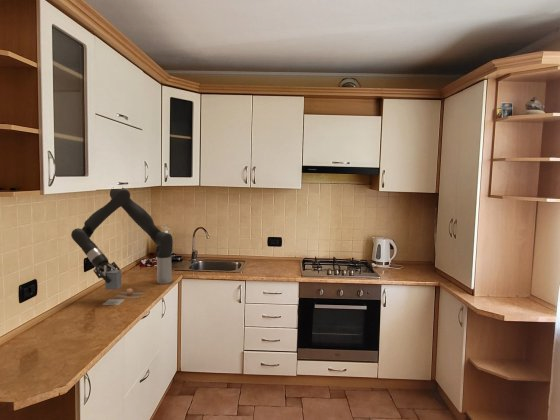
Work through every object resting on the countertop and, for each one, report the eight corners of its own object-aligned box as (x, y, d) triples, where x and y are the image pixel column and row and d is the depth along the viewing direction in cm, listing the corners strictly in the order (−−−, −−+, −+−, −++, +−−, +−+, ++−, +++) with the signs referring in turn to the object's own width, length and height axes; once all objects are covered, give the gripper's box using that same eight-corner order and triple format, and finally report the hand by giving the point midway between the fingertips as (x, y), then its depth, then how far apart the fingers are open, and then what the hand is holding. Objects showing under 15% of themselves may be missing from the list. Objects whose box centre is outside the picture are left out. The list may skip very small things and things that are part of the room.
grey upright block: (110, 285, 211) (109, 269, 210) (121, 285, 211) (121, 270, 210) (105, 289, 205) (104, 273, 204) (117, 289, 205) (116, 273, 204)
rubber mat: (108, 301, 213) (108, 299, 213) (125, 301, 214) (124, 299, 214) (101, 306, 204) (101, 304, 204) (118, 306, 205) (118, 304, 205)
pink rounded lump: (127, 293, 224) (127, 288, 223) (133, 293, 224) (133, 288, 223) (125, 295, 220) (125, 290, 220) (131, 295, 220) (131, 290, 220)
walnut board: (122, 292, 229) (122, 290, 229) (145, 292, 229) (145, 290, 229) (112, 300, 215) (112, 298, 215) (137, 300, 215) (137, 298, 215)
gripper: (90, 256, 202) (109, 279, 200) (110, 250, 216) (127, 272, 213) (83, 265, 204) (101, 288, 202) (103, 259, 218) (120, 280, 215)
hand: (115, 280), depth 207 cm, fingers closed on grey upright block, 8 cm apart
